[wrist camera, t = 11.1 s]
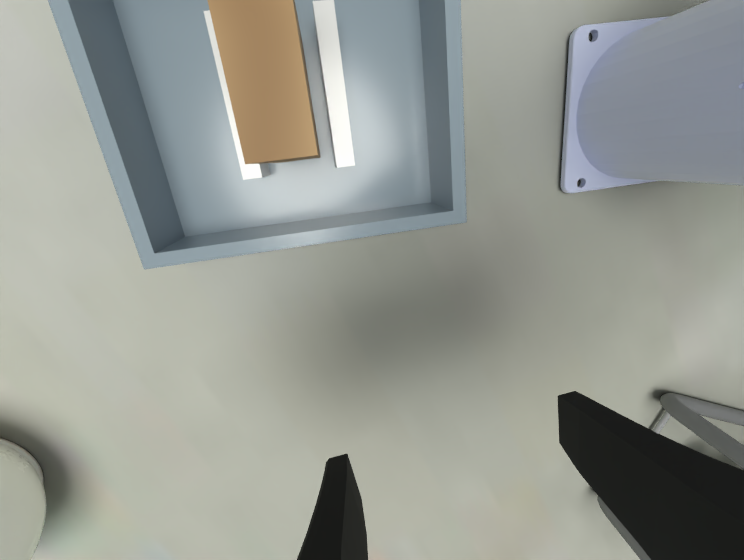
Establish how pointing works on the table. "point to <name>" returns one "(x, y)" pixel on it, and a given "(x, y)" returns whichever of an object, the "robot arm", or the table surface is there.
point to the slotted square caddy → (220, 136)
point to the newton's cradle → (689, 416)
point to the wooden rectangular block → (266, 79)
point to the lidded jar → (20, 502)
